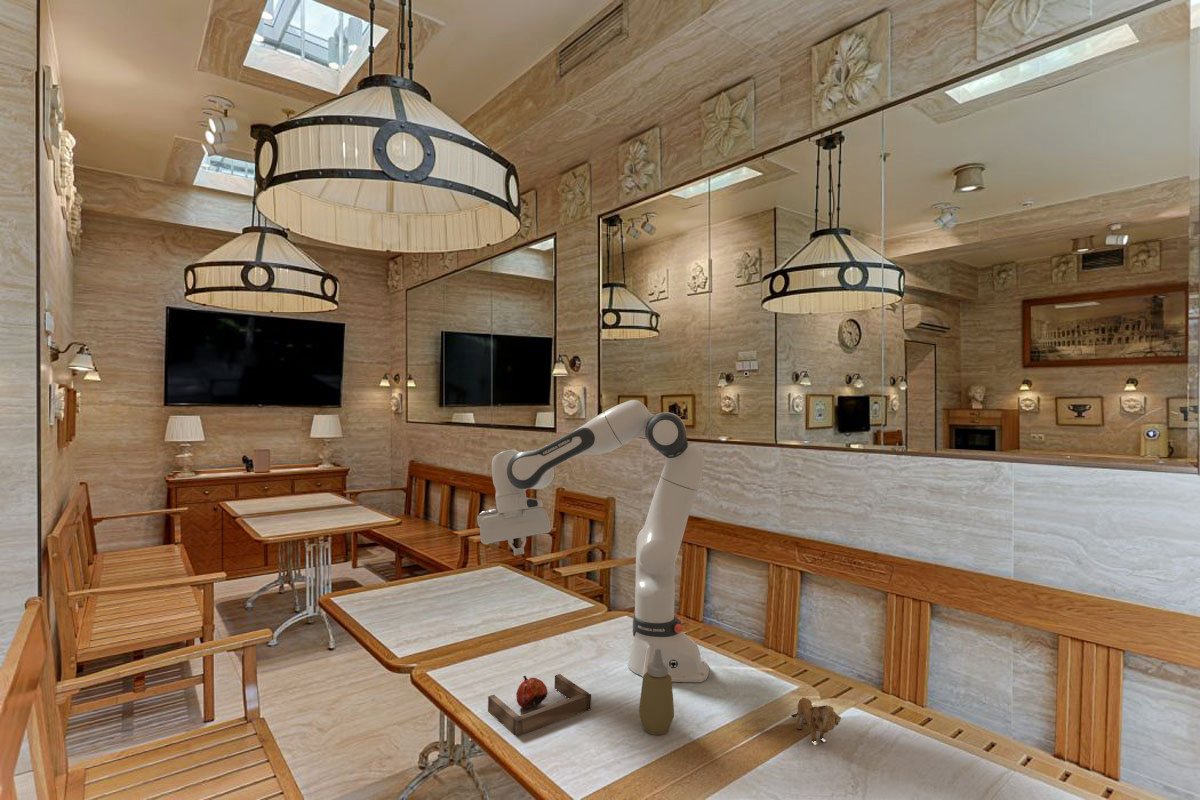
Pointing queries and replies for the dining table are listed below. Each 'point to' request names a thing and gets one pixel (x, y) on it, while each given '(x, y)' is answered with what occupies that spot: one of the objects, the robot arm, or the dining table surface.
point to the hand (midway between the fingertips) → (519, 554)
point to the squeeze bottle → (656, 697)
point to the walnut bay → (542, 709)
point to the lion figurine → (816, 717)
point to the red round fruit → (531, 693)
